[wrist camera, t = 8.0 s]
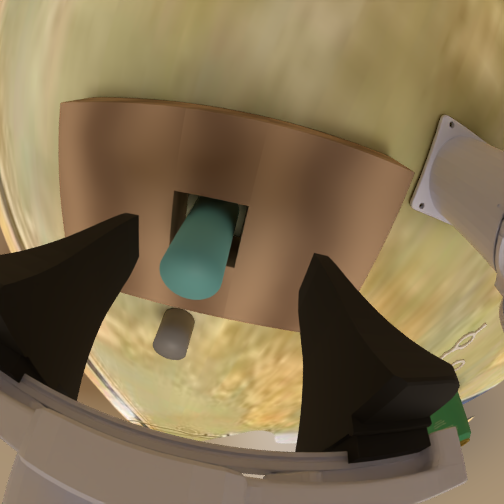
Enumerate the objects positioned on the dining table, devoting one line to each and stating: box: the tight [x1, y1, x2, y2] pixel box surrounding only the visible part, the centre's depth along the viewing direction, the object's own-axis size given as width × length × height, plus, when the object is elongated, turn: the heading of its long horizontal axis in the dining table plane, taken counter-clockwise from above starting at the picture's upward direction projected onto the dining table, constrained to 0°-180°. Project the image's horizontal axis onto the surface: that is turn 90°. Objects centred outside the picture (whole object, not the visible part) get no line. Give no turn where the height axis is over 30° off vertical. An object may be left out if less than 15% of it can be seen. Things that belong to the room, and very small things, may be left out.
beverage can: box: [427, 391, 471, 446], centre depth 31 cm, size 8×8×12 cm
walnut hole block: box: [59, 97, 414, 332], centre depth 18 cm, size 22×14×4 cm, turn 77°
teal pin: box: [159, 196, 239, 300], centre depth 17 cm, size 3×3×8 cm
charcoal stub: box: [153, 308, 195, 360], centre depth 25 cm, size 3×3×4 cm
